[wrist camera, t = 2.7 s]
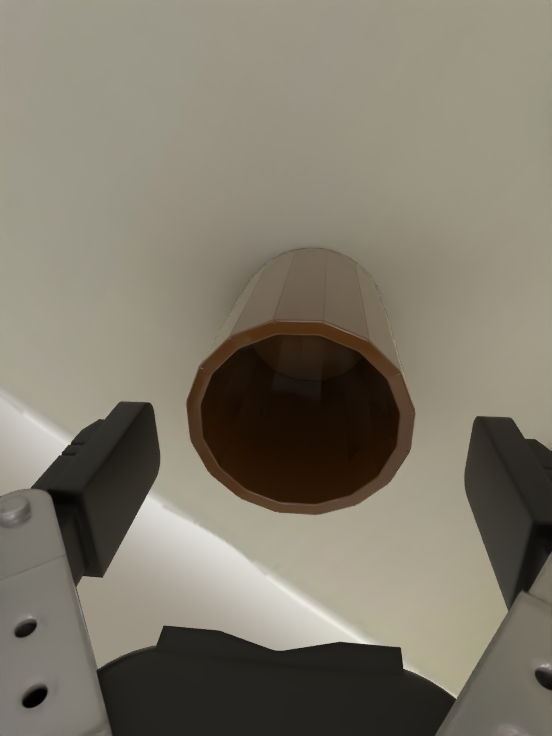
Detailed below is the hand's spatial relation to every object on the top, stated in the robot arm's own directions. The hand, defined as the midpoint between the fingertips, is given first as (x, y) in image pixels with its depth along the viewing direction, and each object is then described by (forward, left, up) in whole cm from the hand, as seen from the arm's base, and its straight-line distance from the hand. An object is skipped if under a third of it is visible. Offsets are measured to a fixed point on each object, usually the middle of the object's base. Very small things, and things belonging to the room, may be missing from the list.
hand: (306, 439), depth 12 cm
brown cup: (0, 0, -9) cm, 9 cm away
